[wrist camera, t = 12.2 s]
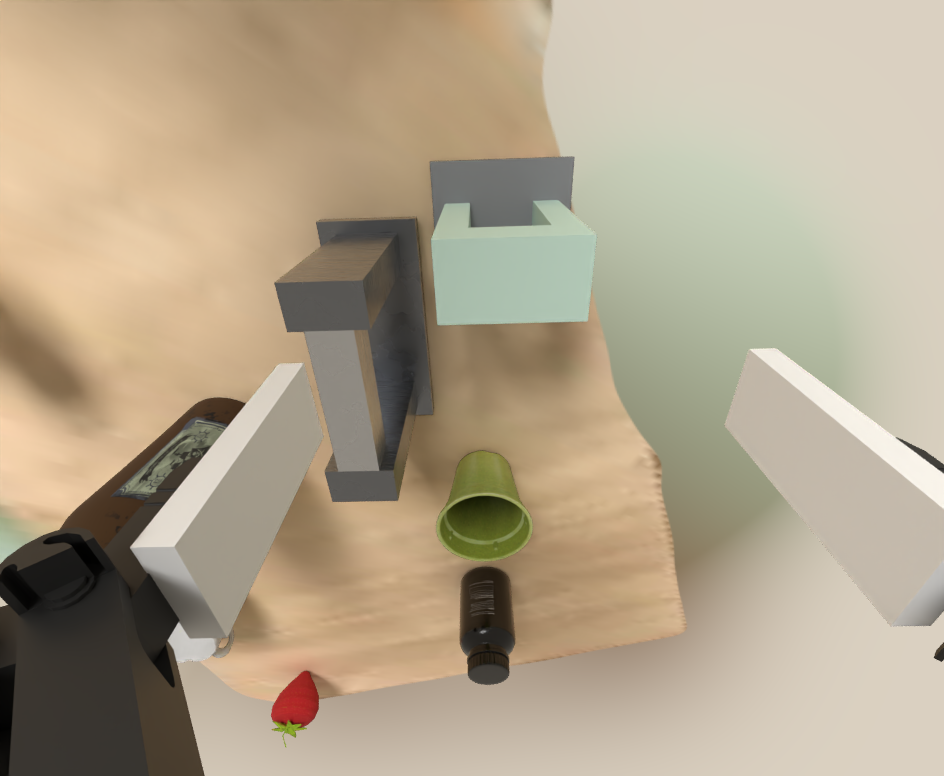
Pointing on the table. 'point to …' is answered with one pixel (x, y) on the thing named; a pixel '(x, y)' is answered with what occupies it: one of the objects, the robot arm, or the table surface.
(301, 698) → the strawberry
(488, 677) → the supplement bottle
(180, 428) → the olive oil
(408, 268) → the stand
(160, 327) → the table surface
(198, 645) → the teacup
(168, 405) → the table surface
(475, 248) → the mint green u-shaped block
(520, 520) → the plant pot
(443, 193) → the gray rectangular panel
